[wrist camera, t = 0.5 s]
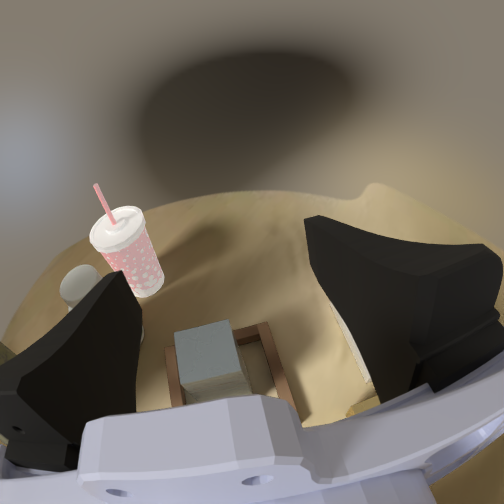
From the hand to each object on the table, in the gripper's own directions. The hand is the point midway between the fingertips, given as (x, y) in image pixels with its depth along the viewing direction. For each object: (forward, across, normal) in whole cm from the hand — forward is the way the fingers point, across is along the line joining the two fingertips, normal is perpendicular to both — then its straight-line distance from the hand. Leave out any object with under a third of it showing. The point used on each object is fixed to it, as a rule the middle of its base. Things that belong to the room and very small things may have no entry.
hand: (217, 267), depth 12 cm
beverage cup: (+21, +11, +12) cm, 26 cm away
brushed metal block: (+7, +3, +16) cm, 18 cm away
